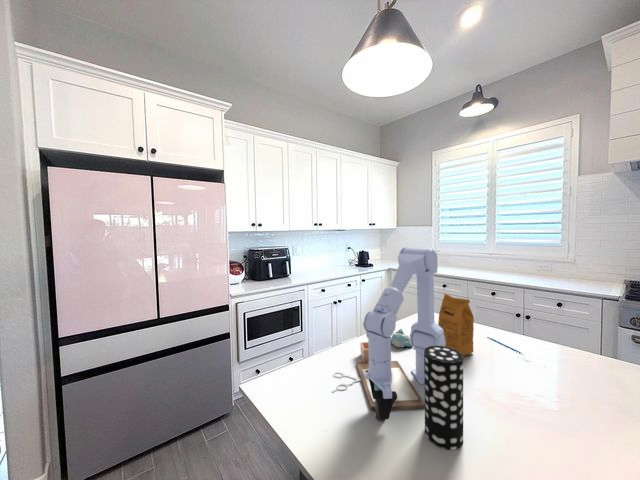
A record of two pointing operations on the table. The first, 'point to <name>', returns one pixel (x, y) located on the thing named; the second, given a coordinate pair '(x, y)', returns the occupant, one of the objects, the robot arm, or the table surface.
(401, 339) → the stuffed animal
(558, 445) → the table surface
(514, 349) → the grey thin rod
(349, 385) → the scissors
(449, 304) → the coffee package
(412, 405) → the clipboard
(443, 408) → the white-spotted black cylinder
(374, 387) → the marker
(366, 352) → the pen cup
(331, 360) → the table surface
